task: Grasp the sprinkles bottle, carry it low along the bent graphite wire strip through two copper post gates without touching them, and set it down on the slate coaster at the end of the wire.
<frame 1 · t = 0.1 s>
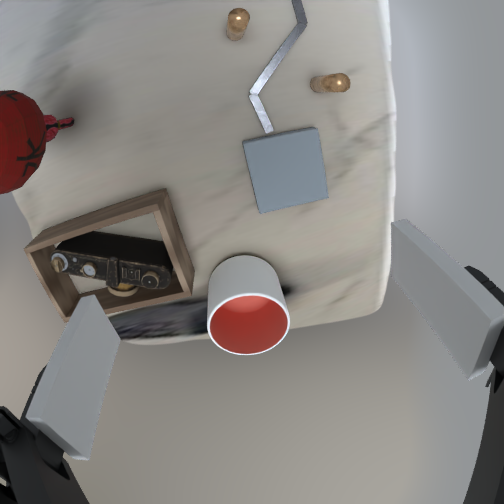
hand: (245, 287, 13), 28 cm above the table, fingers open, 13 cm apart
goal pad: (285, 167, 39), on the table
camera corral: (113, 250, 42), on the table
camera: (120, 252, 42), resting in camera corral
cup: (243, 281, 46), on the table
lantern: (70, 121, 33), on the table
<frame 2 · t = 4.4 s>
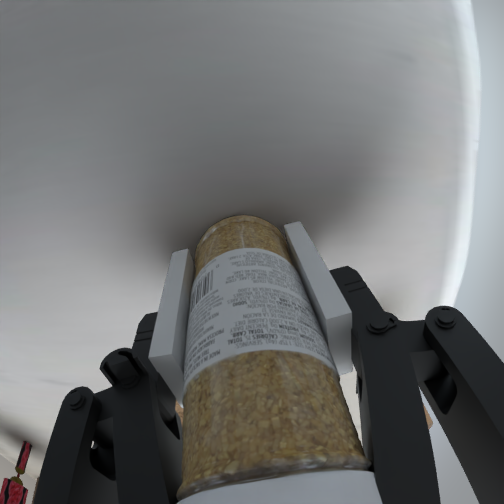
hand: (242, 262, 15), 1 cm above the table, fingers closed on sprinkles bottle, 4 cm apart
sprinkles bottle: (241, 253, 15), on the table, touching gripper
lantern: (28, 442, 25), on the table
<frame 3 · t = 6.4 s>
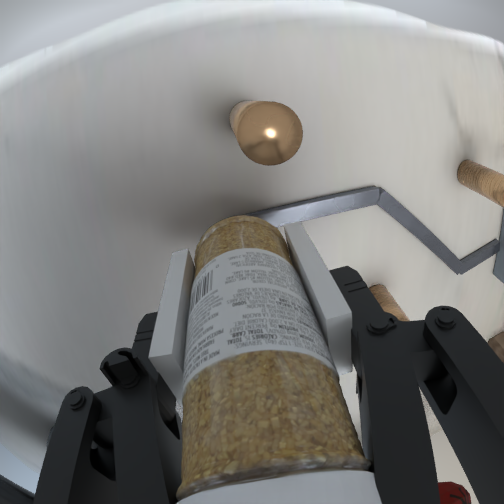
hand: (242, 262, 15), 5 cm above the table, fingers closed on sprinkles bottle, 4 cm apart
wire course: (102, 452, 32), on the table
sprinkles bottle: (241, 253, 15), point 4 cm above the table, touching gripper
lantern: (393, 419, 34), on the table
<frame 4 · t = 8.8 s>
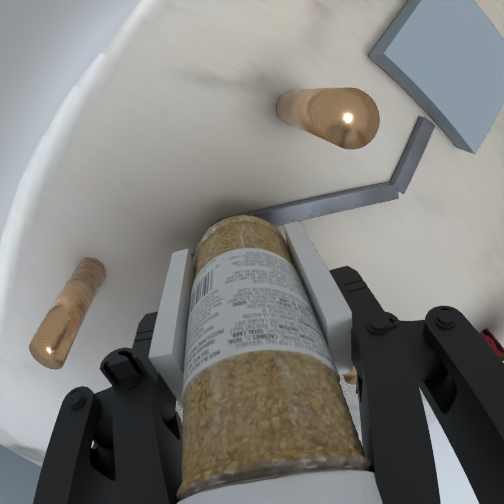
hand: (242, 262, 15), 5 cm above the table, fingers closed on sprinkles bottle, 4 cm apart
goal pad: (448, 58, 14), on the table
wire course: (262, 484, 39), on the table
sprinkles bottle: (241, 253, 15), point 4 cm above the table, touching gripper
lantern: (483, 331, 28), on the table
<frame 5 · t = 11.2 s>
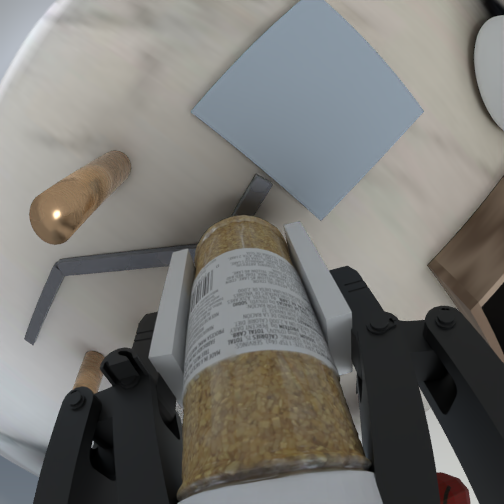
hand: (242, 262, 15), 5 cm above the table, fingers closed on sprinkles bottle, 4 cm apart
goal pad: (309, 103, 16), on the table
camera: (500, 267, 24), resting in camera corral
wire course: (154, 488, 39), on the table
sprinkles bottle: (241, 253, 15), point 4 cm above the table, touching gripper
lantern: (370, 394, 29), on the table
when the fingers open (4 cm above the table, at t = 13.2 s): sprinkles bottle drops 1 cm, resting on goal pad.
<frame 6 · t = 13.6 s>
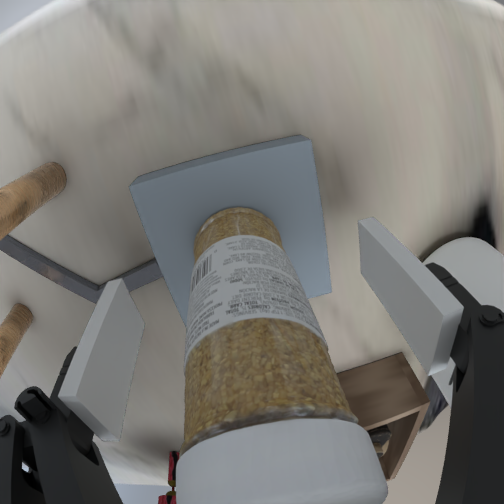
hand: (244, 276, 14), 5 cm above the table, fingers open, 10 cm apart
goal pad: (237, 229, 18), on the table
camera corral: (338, 426, 30), on the table
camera: (336, 419, 30), resting in camera corral
cup: (443, 285, 22), on the table
sprinkles bottle: (237, 243, 16), point 2 cm above the table, touching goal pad
lantern: (174, 452, 30), on the table
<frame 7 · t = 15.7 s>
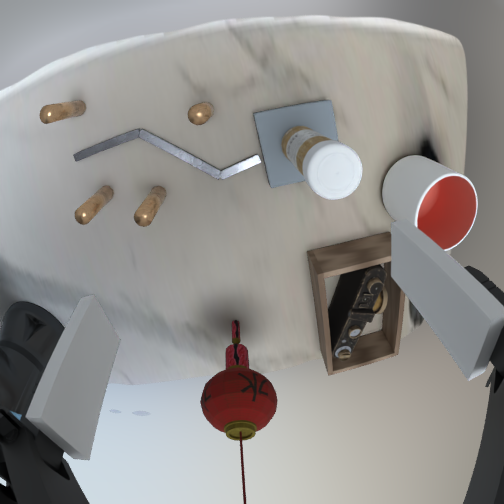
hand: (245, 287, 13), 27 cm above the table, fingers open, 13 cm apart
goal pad: (297, 141, 36), on the table
camera corral: (353, 297, 48), on the table
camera: (351, 290, 48), resting in camera corral
cup: (408, 186, 40), on the table
wire course: (38, 333, 48), on the table
sprinkles bottle: (299, 143, 35), point 2 cm above the table, touching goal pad
lantern: (235, 322, 49), on the table
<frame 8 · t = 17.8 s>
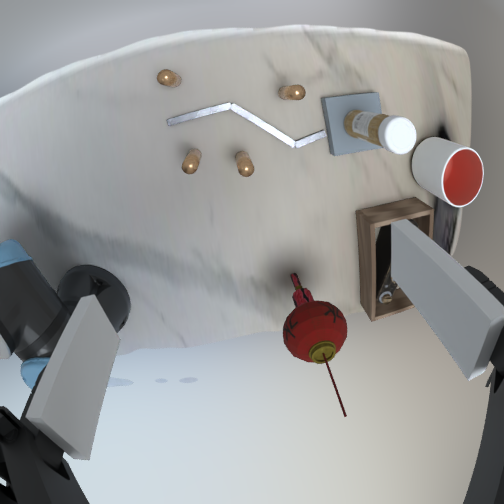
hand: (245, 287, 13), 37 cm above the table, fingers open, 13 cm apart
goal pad: (352, 122, 45), on the table
camera corral: (388, 253, 57), on the table
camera: (386, 247, 56), resting in camera corral
cup: (429, 162, 49), on the table
wire course: (94, 298, 55), on the table
sprinkles bottle: (356, 123, 43), point 2 cm above the table, touching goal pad
lantern: (293, 275, 57), on the table
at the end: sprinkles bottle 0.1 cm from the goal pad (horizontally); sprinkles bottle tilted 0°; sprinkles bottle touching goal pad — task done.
